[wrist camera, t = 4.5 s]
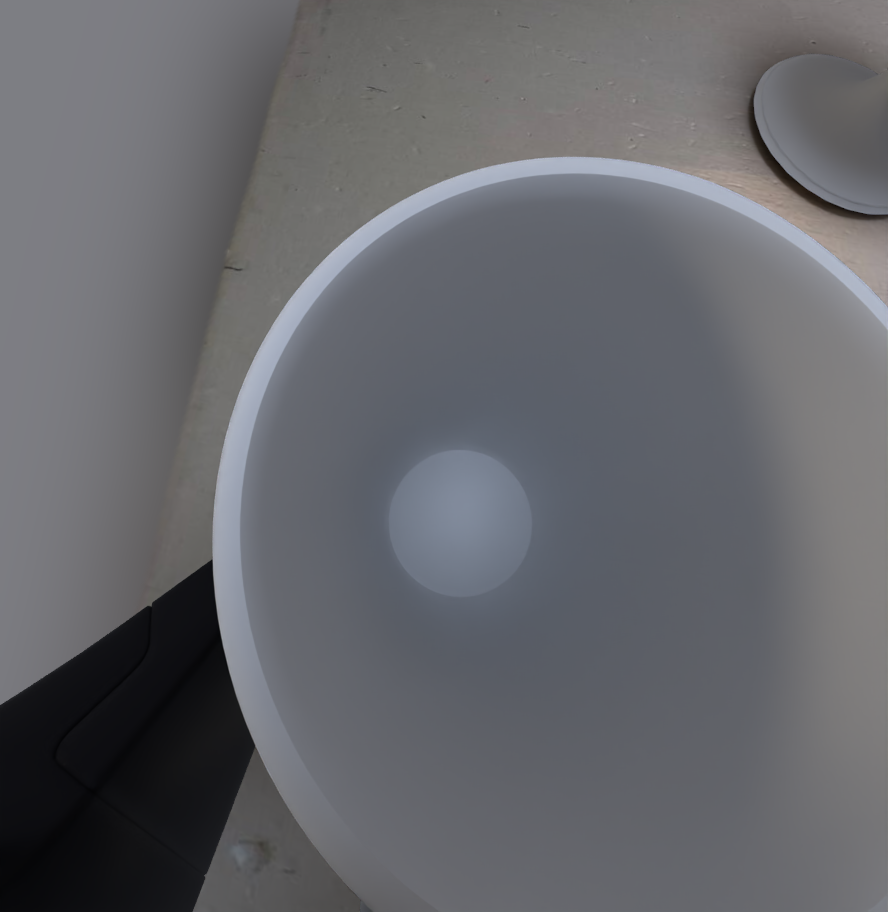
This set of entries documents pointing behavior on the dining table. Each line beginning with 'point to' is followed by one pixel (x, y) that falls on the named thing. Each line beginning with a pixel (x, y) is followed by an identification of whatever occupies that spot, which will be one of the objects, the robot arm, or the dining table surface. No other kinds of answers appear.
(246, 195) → the dining table surface
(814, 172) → the chalice
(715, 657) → the mug
